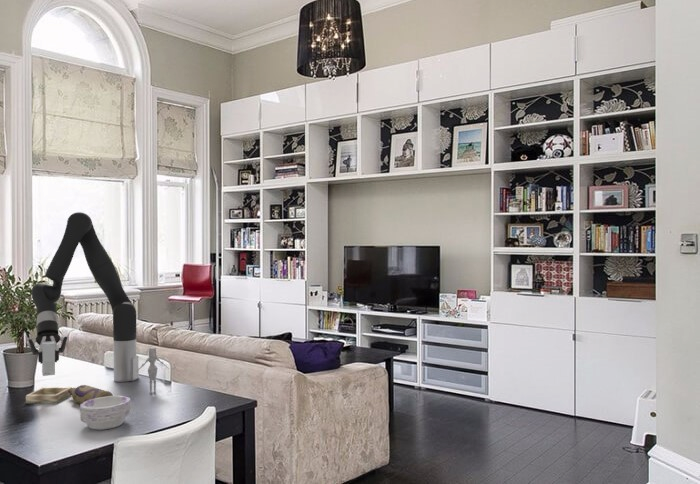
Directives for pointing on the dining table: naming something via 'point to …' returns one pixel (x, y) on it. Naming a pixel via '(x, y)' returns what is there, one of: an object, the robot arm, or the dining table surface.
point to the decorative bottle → (87, 393)
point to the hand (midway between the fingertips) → (48, 361)
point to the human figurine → (152, 368)
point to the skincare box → (48, 358)
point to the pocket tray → (48, 395)
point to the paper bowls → (105, 411)
